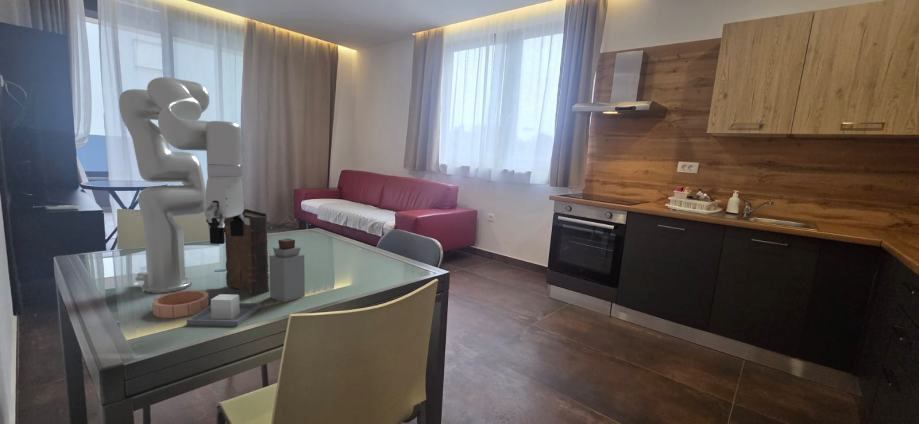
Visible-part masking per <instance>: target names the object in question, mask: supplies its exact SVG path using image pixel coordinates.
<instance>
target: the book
mask: <svg viewBox="0 0 919 424" xmlns="http://www.w3.org/2000/svg"><path fill="white" fill-rule="evenodd" d="M244 211H245V214H244V236H231V228H230V221H232V219H231V218H228V219H225V221H224V223H223V226H224V233H225V243H224V244H225V258H226V260H225V270H226V274H225V277H226V279H225V281H226V286H227V287H229V288H230V289H233V290H234V289H235V290H238V291H241V290H242V291H244V292H245V293H247V294H250V295H261V294H266V293H270V283H269V280H270V275H269V267H270V264H269V256H268V255H269V253H268V242H269V241H268V216H267V214H266V213H263V212H261V211H260V212H259V211H256V210H250V209H249V208H245V210H244Z"/></svg>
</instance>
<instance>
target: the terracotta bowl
mask: <svg viewBox="0 0 919 424" xmlns="http://www.w3.org/2000/svg"><path fill="white" fill-rule="evenodd" d="M209 306H210V303H209V292H207V291H204V290H195V289H193V290H192V289H189V290H181V291H180V290H178V291H172V292H168V293H166V294H163V295H160V296H157V297H156V298H154V299H153V301H152V314H153V315H154V316H156V317H158V318H164V319H175V318H182V317H189V316H192V315H196V314H198V313H199V312H201V311H202V310H204V309H205V308H207V307H209Z"/></svg>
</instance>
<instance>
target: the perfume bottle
mask: <svg viewBox="0 0 919 424" xmlns="http://www.w3.org/2000/svg"><path fill="white" fill-rule="evenodd" d="M295 244H296V240H295V239H292V238H284V239H278V246H276V247H275V246H274V247H272V249H273V252H274V254H270V255H269V254H268V255H269V256H268V260H269V293H270V294H269V295H270V296H269V297H270V298H271V299H274V300H276V301H278V302H282V303H288V302H291V301H293V300H296V299H300V298H303V297H305V291H306V290H305V288H306V287H305V282H306V280H305V277H306V276H305V274H306V273H305V254H302V253H300V251H301V246H296V245H295Z"/></svg>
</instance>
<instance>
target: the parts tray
mask: <svg viewBox="0 0 919 424" xmlns="http://www.w3.org/2000/svg"><path fill="white" fill-rule="evenodd" d="M239 306H240V313H239V314H238V315H236V316H235V317H234V318H233V319H212V318H211V304H209V307H207V308H205V309H204V310H202V311H201V312H199V313H196V314H193V316H191V317H189V318H188V319H187V320H186V326H207V327H208V326H210V327H211V326H212V327H213V326H214V327H216V326H217V327H239V326H240V325H241V324H242V323H244V322H245V321H246V320H247V319H249V318H250V317H251V316H252V315H253V314H255V313H256V312H257V311H258V310H260V309H261V302H260V303H257V302H256V303H255V302H254V303H253V302H239Z"/></svg>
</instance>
